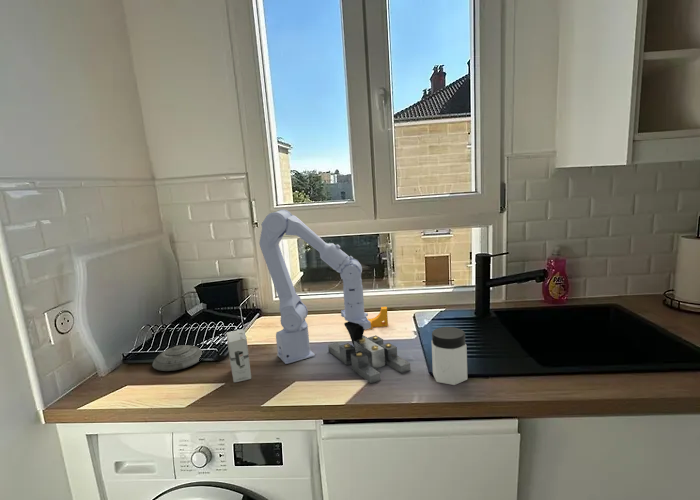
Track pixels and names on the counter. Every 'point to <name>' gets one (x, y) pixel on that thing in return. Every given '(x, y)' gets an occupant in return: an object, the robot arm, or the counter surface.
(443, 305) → the counter surface
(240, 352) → the ink box
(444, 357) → the jar
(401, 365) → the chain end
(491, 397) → the counter surface
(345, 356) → the chain end
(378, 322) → the pipe clamp
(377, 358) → the block with brass knobs
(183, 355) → the flying saucer
